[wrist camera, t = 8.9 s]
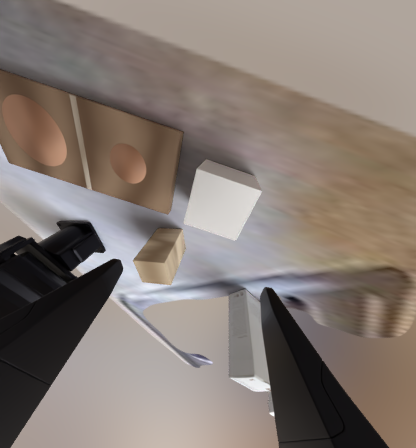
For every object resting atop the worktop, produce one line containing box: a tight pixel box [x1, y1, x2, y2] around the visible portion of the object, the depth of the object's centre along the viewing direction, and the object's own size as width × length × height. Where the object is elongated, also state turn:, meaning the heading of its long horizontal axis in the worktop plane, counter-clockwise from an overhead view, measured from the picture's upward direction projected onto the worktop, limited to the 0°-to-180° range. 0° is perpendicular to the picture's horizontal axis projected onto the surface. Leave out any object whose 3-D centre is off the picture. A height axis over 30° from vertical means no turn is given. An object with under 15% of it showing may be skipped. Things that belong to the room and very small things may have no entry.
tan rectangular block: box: [133, 228, 186, 285], centre depth 21 cm, size 4×4×7 cm
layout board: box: [0, 69, 184, 214], centre depth 18 cm, size 22×10×1 cm, turn 74°
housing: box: [184, 159, 262, 241], centre depth 17 cm, size 6×6×5 cm
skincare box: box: [229, 289, 271, 392], centre depth 25 cm, size 6×4×12 cm
